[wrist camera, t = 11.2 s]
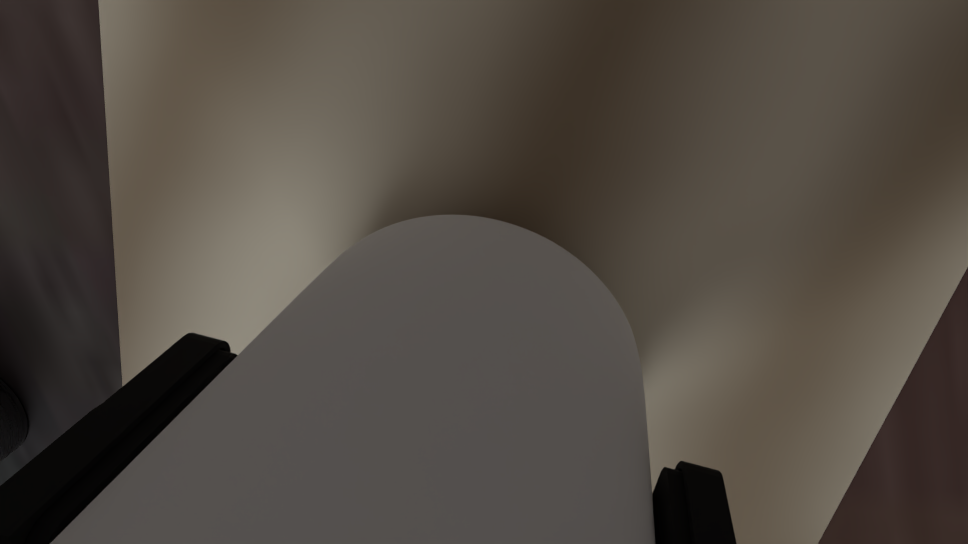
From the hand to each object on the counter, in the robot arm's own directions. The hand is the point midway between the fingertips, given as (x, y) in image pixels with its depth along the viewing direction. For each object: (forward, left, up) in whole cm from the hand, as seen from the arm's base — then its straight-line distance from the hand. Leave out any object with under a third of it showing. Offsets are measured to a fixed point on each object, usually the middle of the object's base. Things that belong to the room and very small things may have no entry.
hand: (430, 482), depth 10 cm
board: (0, 0, -5) cm, 5 cm away
